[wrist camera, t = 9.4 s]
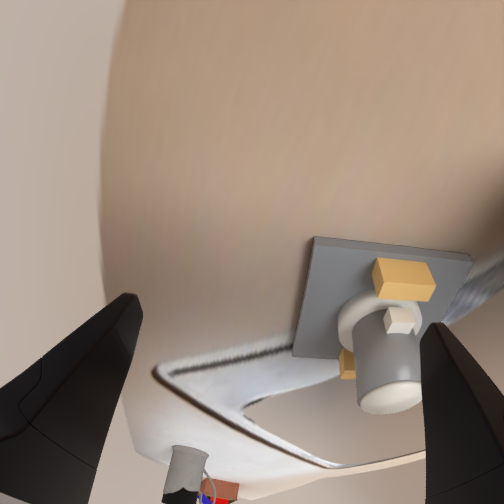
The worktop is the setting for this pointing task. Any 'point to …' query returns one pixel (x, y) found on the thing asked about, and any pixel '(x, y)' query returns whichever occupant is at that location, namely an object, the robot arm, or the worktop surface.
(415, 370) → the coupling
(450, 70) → the worktop surface
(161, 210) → the worktop surface
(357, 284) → the board
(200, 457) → the glass holder
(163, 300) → the worktop surface
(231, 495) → the house
